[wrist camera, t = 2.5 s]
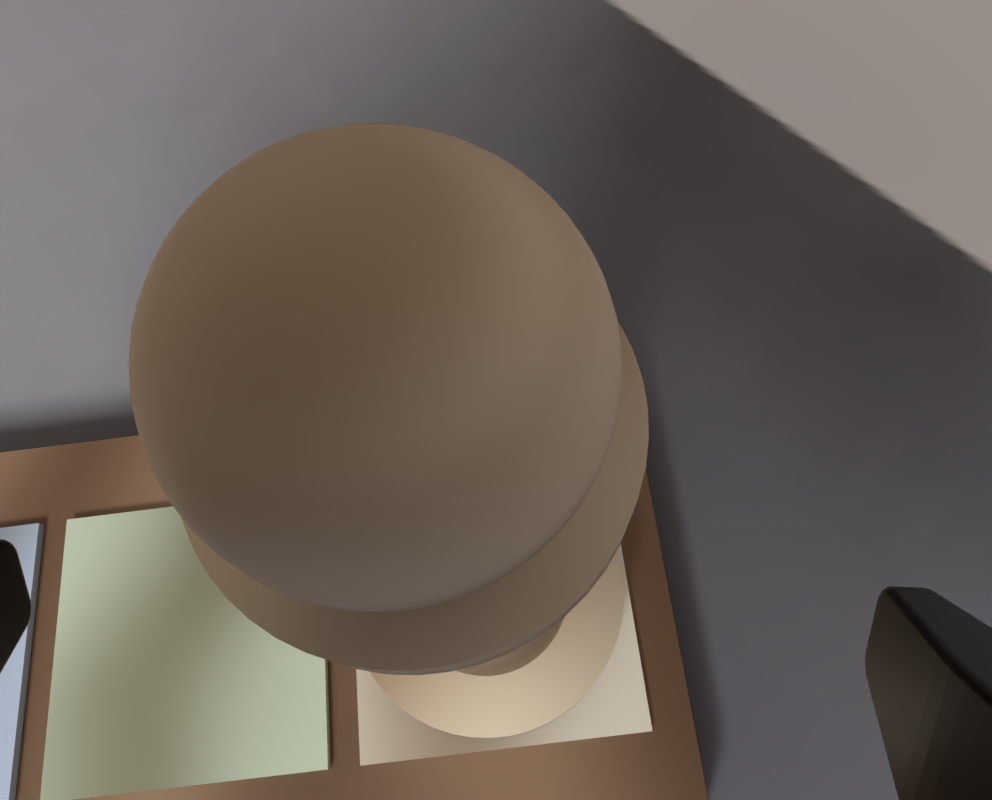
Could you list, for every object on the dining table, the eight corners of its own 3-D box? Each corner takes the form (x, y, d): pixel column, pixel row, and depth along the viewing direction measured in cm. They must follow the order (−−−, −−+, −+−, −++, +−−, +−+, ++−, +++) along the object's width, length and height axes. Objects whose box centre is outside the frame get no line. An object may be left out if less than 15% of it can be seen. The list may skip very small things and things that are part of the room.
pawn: (668, 568, 16) (977, 124, 4) (521, 797, 15) (402, 1042, 3) (464, 432, 17) (284, -182, 6) (312, 630, 16) (-329, 351, 4)
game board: (622, 399, 19) (629, 369, 18) (700, 826, 16) (717, 836, 14) (-410, 528, 20) (-494, 510, 18) (-553, 971, 16) (-673, 997, 15)
